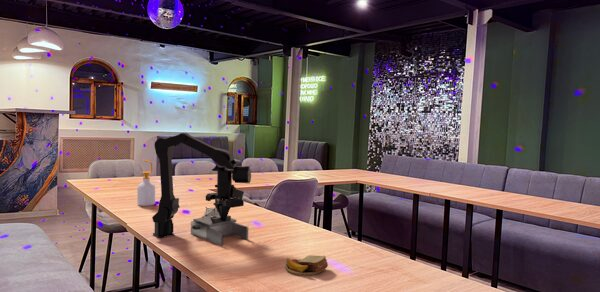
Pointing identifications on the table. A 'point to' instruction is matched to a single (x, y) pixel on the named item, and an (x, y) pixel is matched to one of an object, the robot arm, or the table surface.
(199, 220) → the lid
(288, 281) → the table surface
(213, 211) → the game die
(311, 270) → the toy sandwich meal
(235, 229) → the grey rectangular box
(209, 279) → the table surface
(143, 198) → the soap bottle
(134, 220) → the table surface
